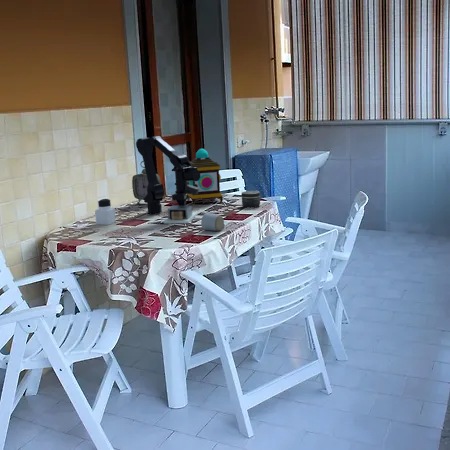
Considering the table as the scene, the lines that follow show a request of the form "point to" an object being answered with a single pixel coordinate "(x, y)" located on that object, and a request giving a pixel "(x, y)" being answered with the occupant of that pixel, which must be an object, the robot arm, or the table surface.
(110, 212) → the medicine bottle
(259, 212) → the table surface
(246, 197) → the jar
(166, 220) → the board
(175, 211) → the block
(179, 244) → the table surface
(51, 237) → the table surface
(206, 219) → the ceramic mug
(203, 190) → the decorative lantern
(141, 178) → the tabletop clock
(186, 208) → the cover
